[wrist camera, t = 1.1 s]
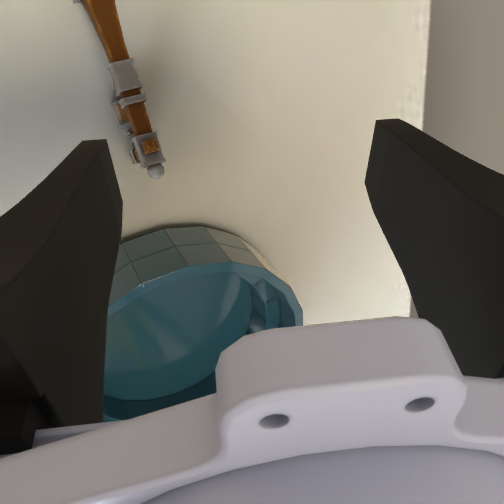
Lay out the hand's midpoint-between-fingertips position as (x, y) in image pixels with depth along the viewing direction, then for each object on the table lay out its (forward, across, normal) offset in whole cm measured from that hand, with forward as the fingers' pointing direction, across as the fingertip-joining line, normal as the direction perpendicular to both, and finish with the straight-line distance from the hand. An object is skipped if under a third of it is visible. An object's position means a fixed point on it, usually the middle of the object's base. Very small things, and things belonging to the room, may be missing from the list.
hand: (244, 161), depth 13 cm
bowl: (+8, +5, +18) cm, 20 cm away
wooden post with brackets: (+11, +5, +2) cm, 12 cm away
